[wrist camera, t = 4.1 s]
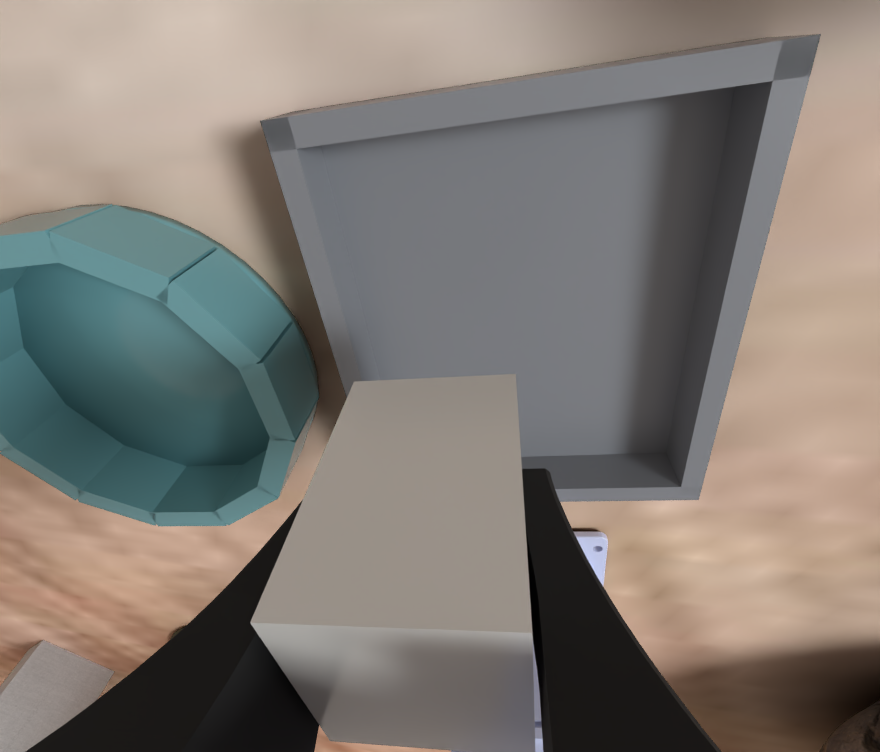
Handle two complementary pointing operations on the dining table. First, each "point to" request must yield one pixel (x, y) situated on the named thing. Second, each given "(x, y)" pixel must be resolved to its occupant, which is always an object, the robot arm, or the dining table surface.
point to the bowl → (147, 367)
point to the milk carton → (46, 694)
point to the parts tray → (557, 245)
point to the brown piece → (857, 733)
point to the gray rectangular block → (412, 572)
